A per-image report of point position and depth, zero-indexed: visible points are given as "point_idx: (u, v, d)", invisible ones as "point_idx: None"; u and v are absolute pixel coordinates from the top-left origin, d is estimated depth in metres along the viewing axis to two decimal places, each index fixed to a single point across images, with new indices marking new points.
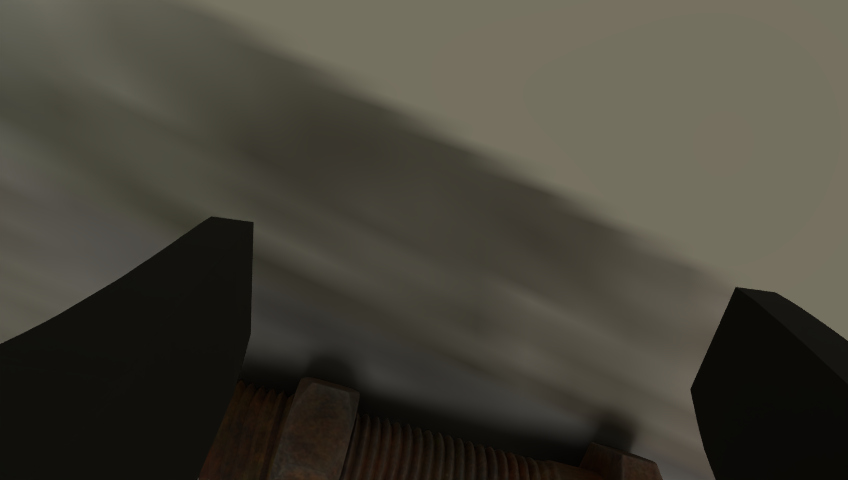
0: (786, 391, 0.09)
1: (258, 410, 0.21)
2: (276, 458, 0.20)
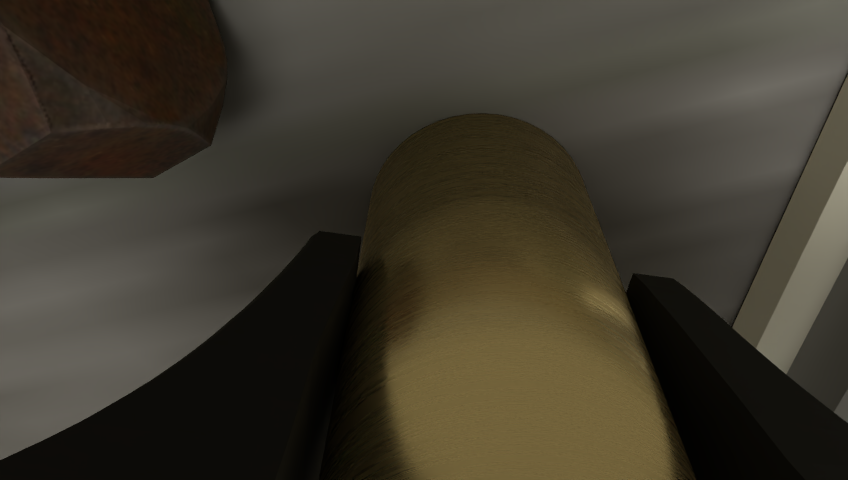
0: (667, 376, 0.09)
1: None
2: None
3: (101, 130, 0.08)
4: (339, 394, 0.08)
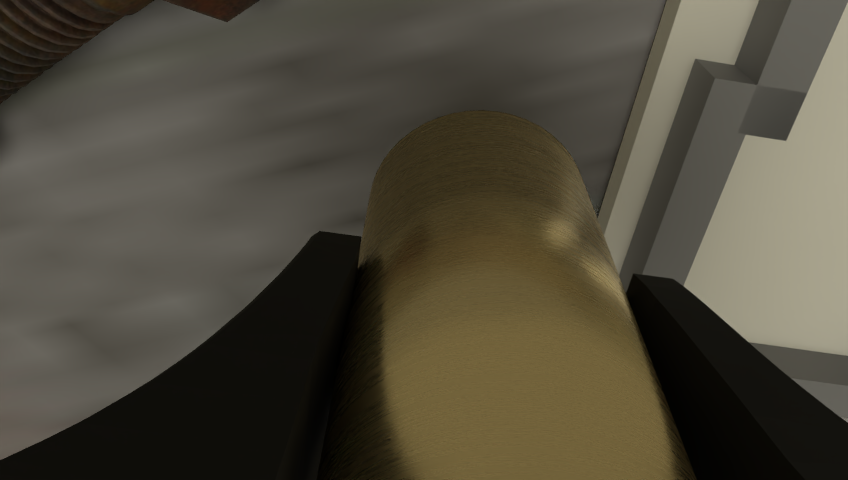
0: (667, 376, 0.09)
1: None
2: None
3: None
4: (338, 388, 0.08)
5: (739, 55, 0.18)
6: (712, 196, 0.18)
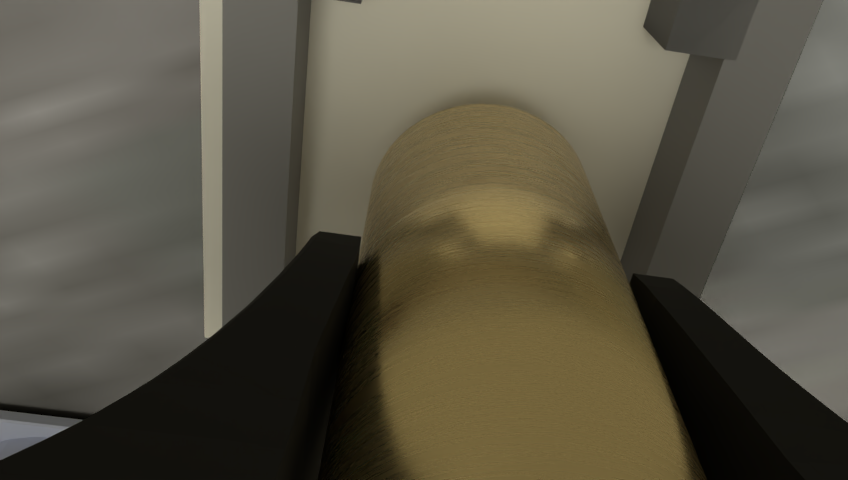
0: (667, 376, 0.09)
1: None
2: None
3: None
4: (338, 385, 0.08)
5: None
6: (282, 94, 0.12)
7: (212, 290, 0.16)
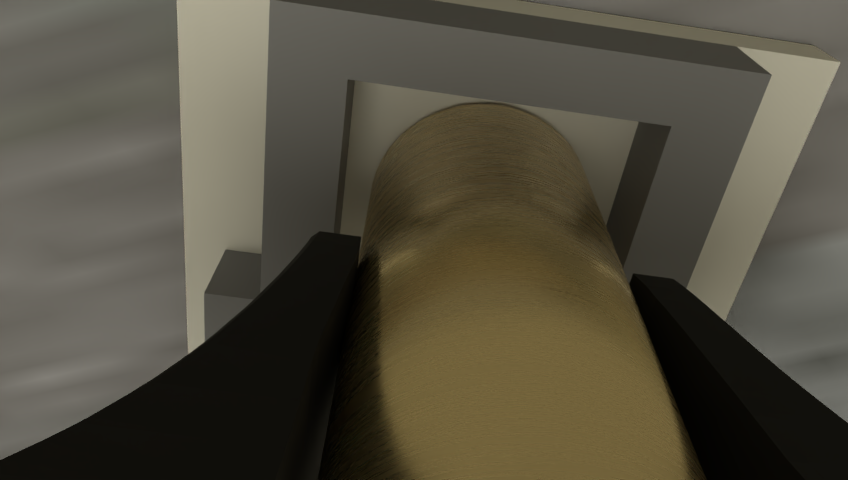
0: (666, 376, 0.09)
1: None
2: None
3: None
4: (338, 385, 0.08)
5: None
6: None
7: None
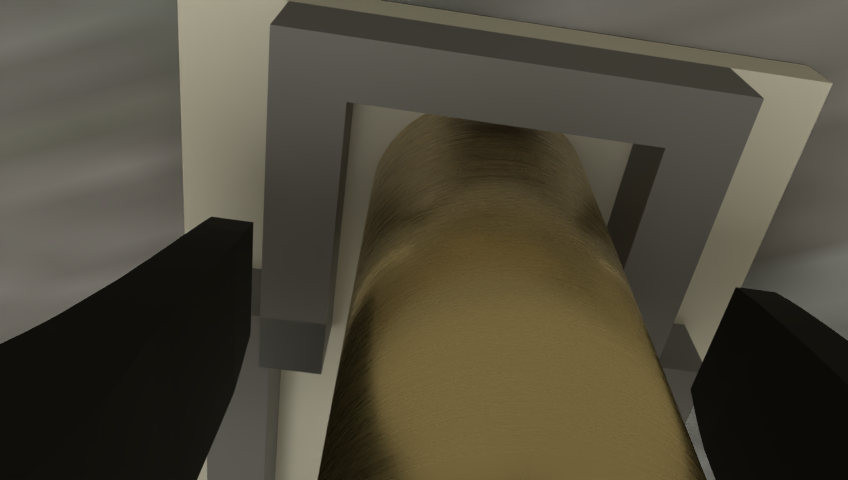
0: (786, 391, 0.09)
1: None
2: None
3: None
4: (341, 371, 0.08)
5: None
6: (257, 430, 0.15)
7: None
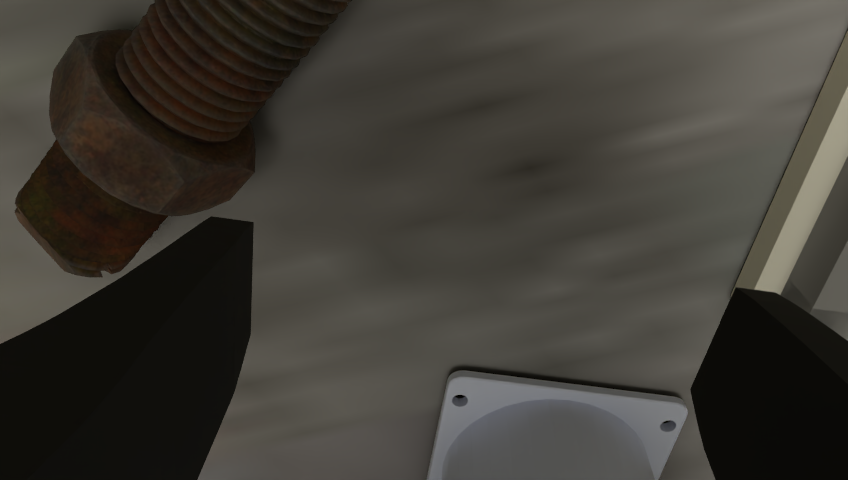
0: (786, 391, 0.09)
1: None
2: (64, 153, 0.16)
3: None
4: None
5: None
6: None
7: (765, 277, 0.20)
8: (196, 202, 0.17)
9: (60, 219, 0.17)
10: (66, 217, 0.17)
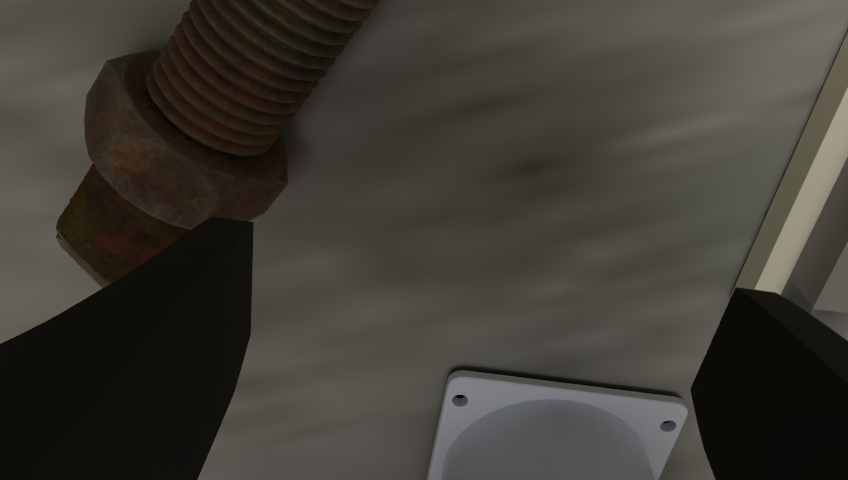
0: (786, 391, 0.09)
1: None
2: (102, 176, 0.16)
3: None
4: None
5: None
6: None
7: (766, 277, 0.20)
8: (233, 217, 0.17)
9: (101, 242, 0.18)
10: (107, 239, 0.18)
